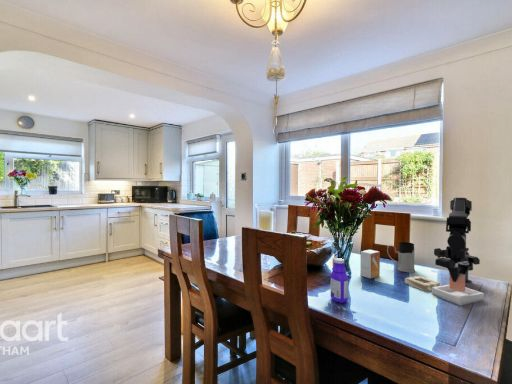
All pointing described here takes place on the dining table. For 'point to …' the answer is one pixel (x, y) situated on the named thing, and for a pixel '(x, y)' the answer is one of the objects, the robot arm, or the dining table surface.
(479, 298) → the parts tray
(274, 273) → the dining table surface
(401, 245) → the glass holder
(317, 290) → the dining table surface
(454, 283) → the block
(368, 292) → the dining table surface
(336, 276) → the bottle
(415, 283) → the socket
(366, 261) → the small box
